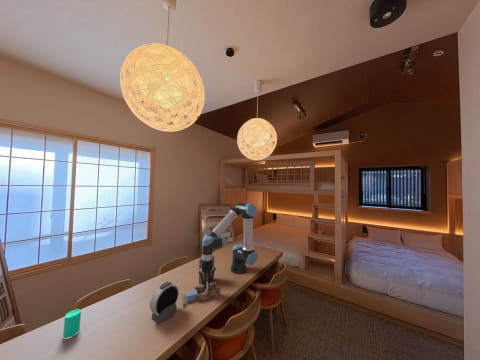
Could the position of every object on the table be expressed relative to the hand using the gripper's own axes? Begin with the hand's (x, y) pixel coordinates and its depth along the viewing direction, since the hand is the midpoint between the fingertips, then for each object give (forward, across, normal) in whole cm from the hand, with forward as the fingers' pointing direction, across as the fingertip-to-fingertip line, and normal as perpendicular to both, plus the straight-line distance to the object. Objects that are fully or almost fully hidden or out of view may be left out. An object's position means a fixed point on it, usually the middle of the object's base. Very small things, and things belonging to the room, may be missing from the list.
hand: (206, 292), depth 116 cm
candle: (+2, +72, +1) cm, 72 cm away
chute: (+2, +4, 0) cm, 5 cm away
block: (+1, +11, 0) cm, 11 cm away
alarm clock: (+2, +28, +7) cm, 29 cm away
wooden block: (+2, -4, -17) cm, 18 cm away
